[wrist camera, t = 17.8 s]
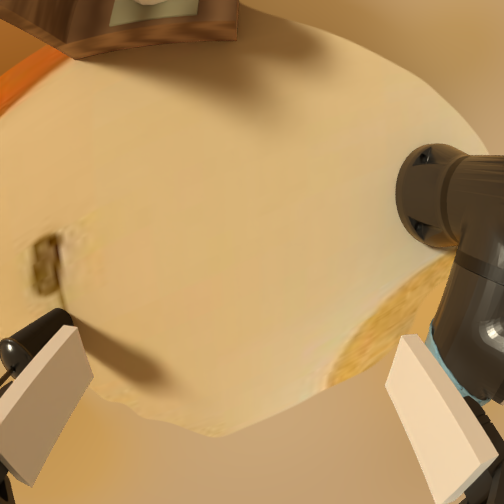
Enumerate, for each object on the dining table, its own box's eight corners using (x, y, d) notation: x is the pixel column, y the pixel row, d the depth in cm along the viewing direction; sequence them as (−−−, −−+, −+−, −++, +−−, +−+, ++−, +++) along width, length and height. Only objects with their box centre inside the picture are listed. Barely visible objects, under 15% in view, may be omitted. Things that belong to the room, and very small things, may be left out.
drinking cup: (50, 290, 40) (-28, 351, 21) (85, 318, 42) (17, 394, 22) (40, 323, 42) (-27, 386, 22) (73, 349, 43) (14, 423, 24)
